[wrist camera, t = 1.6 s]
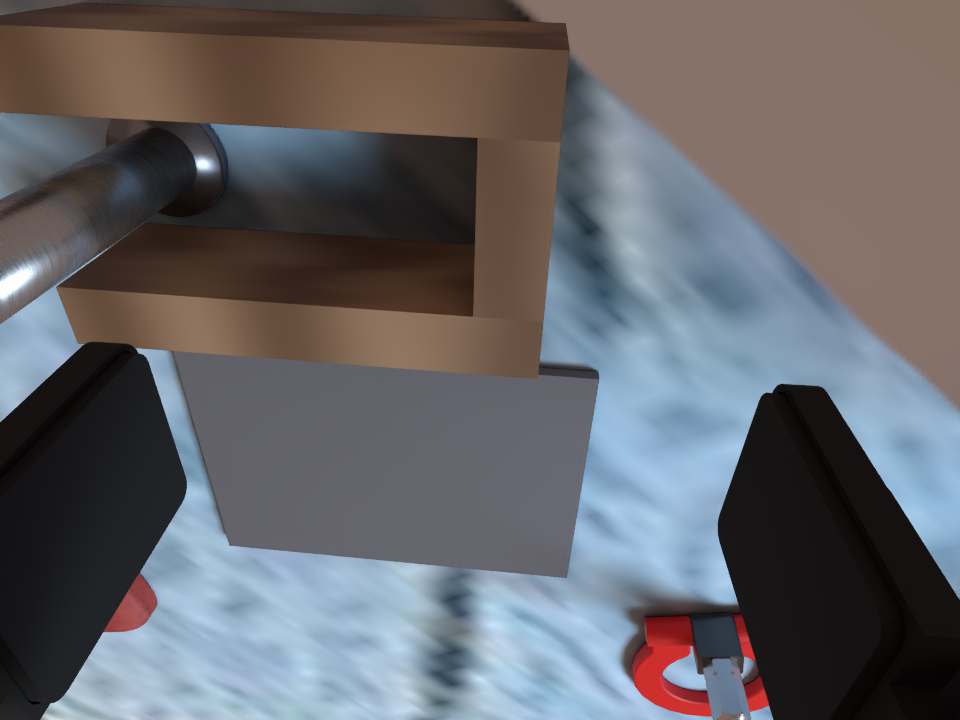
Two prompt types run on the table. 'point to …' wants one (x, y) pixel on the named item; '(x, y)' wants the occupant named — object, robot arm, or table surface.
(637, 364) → the table surface
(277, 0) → the table surface
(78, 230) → the post
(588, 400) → the mat
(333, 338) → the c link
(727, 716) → the tow hook
